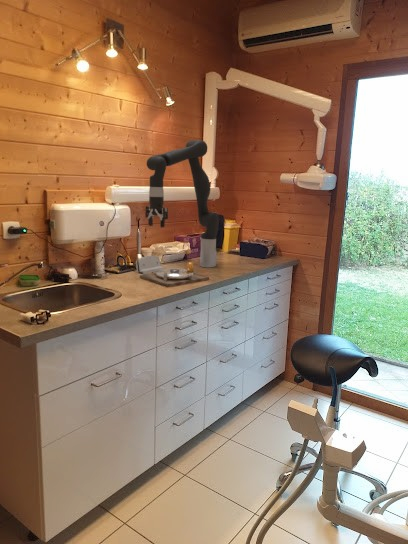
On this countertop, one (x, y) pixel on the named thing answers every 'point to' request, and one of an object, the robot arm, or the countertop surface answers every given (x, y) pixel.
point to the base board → (172, 282)
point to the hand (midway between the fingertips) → (156, 226)
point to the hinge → (148, 264)
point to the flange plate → (177, 272)
